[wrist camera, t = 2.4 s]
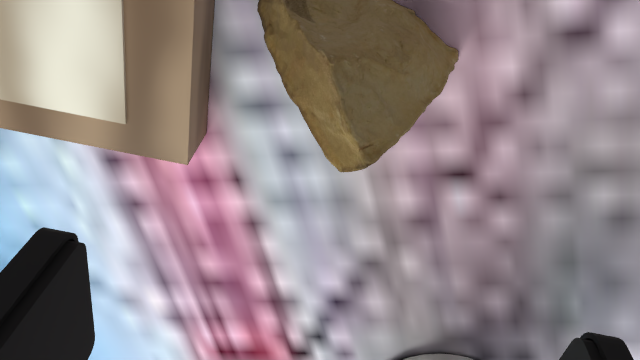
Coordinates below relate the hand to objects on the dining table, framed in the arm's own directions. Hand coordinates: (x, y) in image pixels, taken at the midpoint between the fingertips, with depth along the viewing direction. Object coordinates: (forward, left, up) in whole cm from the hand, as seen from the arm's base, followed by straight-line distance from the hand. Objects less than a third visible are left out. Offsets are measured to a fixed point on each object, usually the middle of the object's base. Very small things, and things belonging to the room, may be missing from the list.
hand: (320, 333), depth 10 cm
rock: (0, 0, -23) cm, 23 cm away
